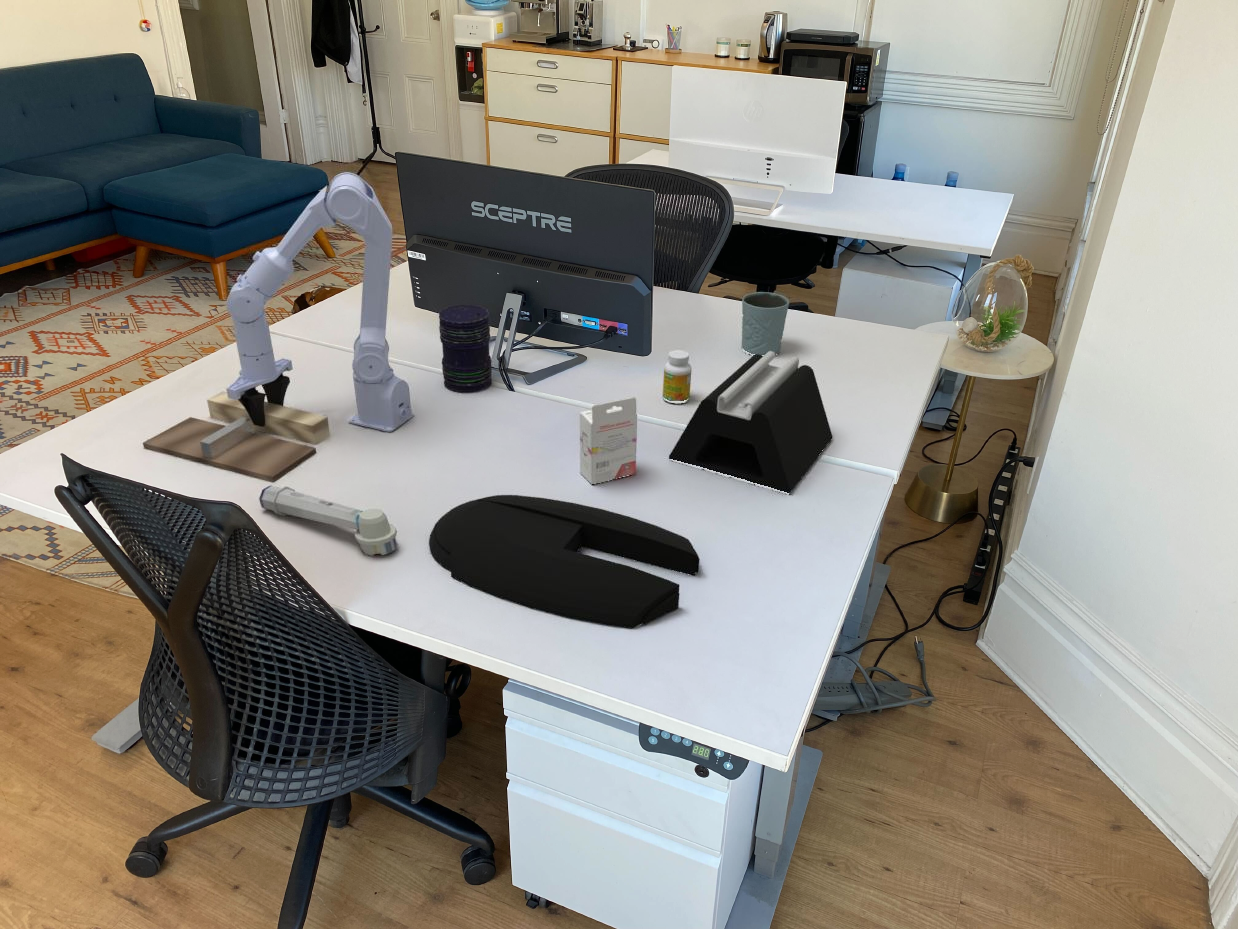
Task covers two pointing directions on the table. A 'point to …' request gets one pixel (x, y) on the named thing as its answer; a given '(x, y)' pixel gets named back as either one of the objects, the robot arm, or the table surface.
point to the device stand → (759, 425)
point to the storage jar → (465, 348)
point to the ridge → (226, 438)
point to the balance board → (232, 450)
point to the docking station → (562, 558)
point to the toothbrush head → (334, 517)
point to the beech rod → (274, 419)
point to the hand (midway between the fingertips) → (268, 419)
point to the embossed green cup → (763, 322)
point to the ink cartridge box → (608, 441)
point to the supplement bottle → (677, 376)
